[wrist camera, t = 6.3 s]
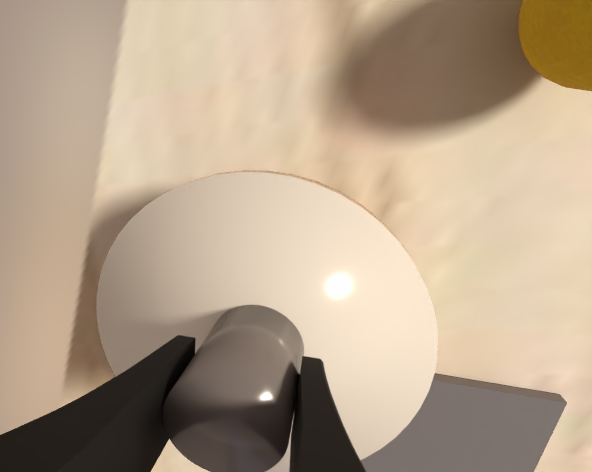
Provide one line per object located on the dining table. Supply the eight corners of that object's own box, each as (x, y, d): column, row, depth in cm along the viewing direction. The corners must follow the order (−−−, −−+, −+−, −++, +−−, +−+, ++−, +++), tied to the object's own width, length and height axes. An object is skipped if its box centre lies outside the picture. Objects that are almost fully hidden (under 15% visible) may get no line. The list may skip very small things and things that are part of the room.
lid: (401, 481, 15) (425, 620, 10) (125, 432, 16) (49, 538, 12) (468, 186, 11) (549, 224, 6) (90, 156, 12) (-45, 169, 8)
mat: (489, 543, 23) (493, 554, 22) (302, 507, 24) (301, 516, 23) (559, 394, 19) (566, 402, 18) (330, 356, 19) (330, 363, 19)
